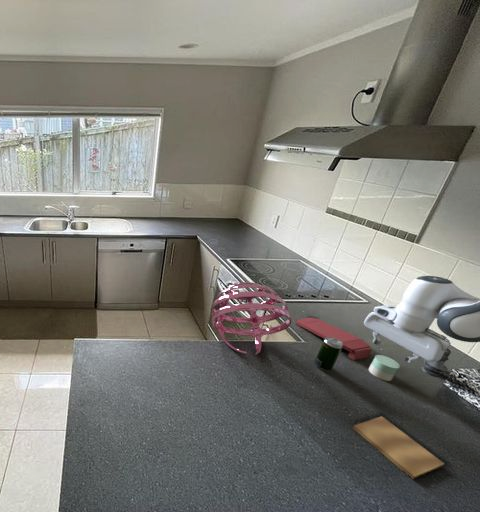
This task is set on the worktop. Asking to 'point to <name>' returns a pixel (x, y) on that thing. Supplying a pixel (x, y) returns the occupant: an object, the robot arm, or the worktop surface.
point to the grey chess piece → (436, 365)
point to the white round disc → (380, 373)
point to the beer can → (328, 353)
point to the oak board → (398, 447)
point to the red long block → (337, 337)
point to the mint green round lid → (385, 364)
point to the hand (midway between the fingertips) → (391, 352)
